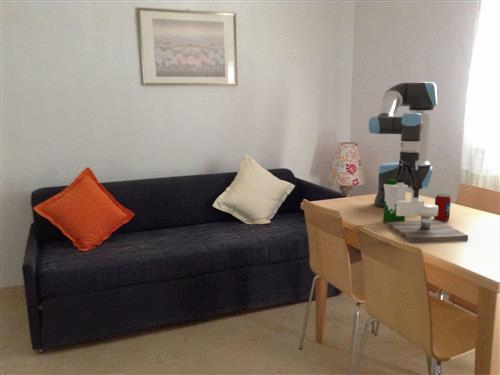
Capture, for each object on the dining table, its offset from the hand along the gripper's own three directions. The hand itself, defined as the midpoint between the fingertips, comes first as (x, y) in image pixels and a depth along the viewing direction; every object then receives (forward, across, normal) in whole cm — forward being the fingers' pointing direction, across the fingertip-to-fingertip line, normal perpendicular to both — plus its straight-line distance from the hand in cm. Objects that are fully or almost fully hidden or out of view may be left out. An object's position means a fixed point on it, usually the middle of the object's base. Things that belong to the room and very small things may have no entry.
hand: (406, 201), depth 186 cm
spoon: (+6, 0, +5) cm, 7 cm away
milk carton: (+15, -18, +3) cm, 23 cm away
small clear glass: (+12, 0, +9) cm, 15 cm away
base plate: (+14, 0, +9) cm, 17 cm away
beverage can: (+15, -19, +27) cm, 36 cm away
